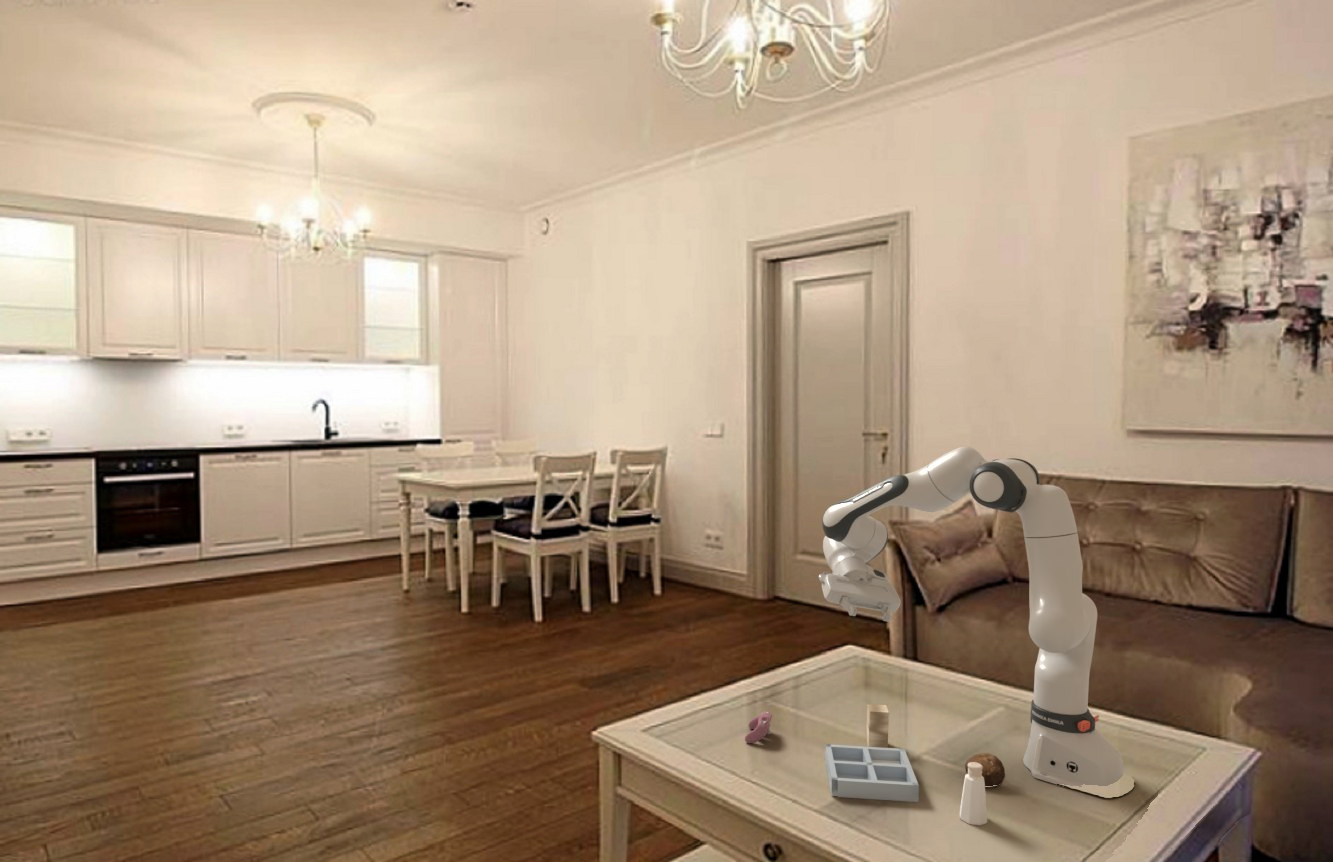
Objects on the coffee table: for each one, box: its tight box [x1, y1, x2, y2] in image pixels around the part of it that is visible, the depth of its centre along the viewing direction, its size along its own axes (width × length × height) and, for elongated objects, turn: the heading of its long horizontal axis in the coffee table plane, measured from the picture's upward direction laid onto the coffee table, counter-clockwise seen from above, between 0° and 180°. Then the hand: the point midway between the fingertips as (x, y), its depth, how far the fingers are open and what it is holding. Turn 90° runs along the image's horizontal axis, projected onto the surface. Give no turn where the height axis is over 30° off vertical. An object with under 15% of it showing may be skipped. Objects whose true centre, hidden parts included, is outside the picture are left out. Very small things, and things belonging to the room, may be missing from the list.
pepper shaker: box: [959, 762, 988, 826], centre depth 169 cm, size 5×5×11 cm
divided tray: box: [824, 743, 920, 803], centre depth 185 cm, size 18×18×4 cm
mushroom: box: [964, 752, 1006, 786], centre depth 185 cm, size 8×8×6 cm
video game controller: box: [744, 710, 773, 744], centre depth 207 cm, size 10×5×7 cm, turn 169°
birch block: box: [865, 704, 890, 748], centre depth 203 cm, size 4×4×9 cm
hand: (870, 616), depth 208 cm, fingers open, 8 cm apart
